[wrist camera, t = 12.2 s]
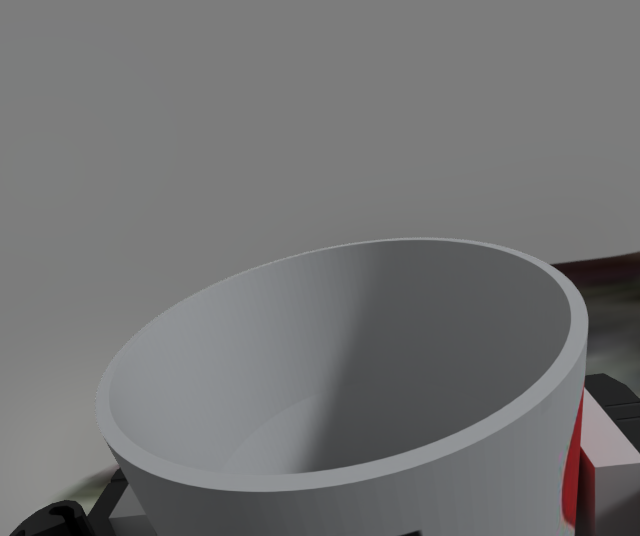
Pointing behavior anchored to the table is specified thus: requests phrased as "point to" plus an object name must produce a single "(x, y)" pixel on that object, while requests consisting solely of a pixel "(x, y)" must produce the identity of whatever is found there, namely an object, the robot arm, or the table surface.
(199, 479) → the cup
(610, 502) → the robot arm
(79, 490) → the table surface
